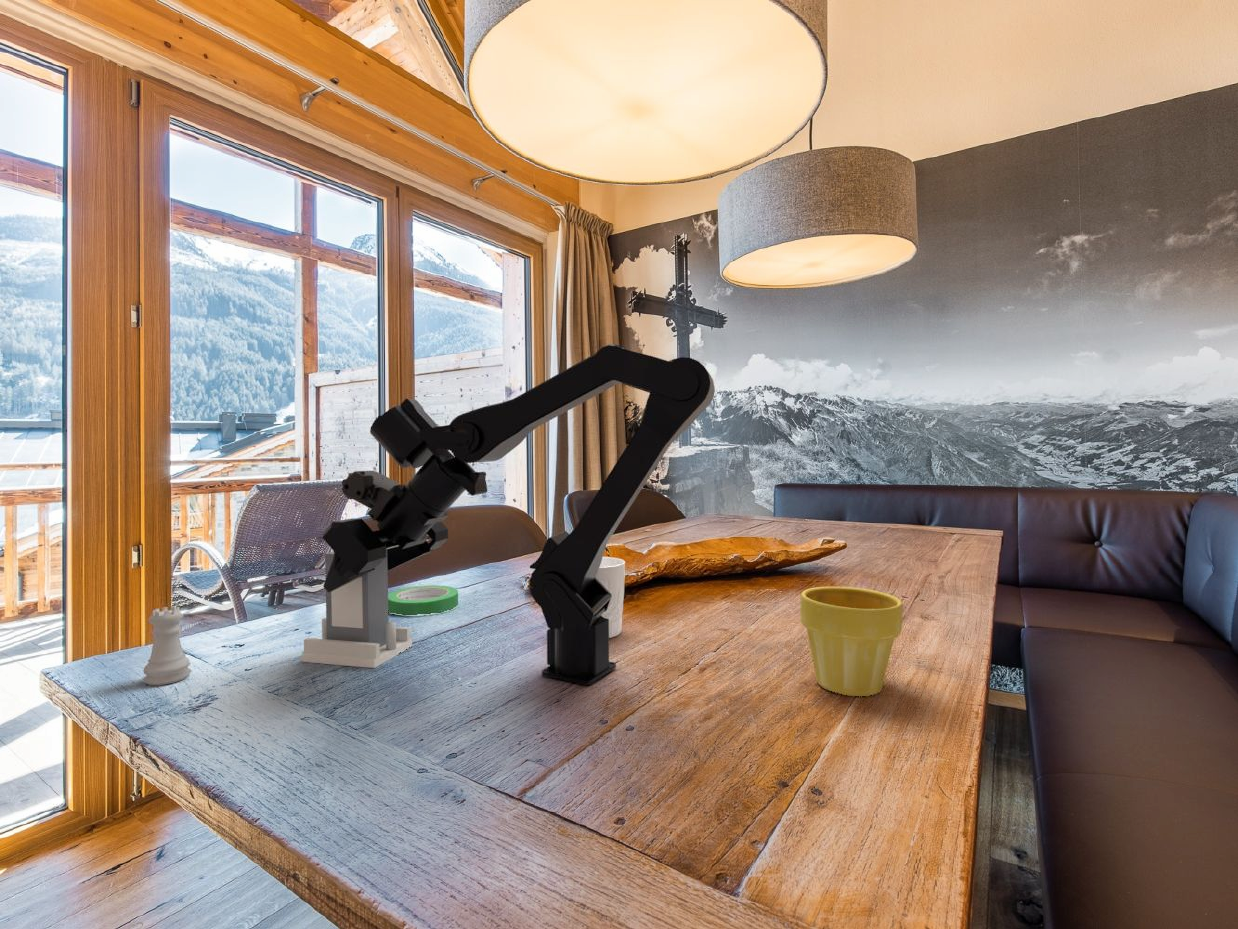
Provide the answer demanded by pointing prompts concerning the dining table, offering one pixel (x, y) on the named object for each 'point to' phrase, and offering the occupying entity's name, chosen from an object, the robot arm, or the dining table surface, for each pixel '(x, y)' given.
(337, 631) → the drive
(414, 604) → the tape roll
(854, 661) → the plant pot
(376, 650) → the tray
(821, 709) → the dining table surface
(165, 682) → the rook chess piece
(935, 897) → the dining table surface
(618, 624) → the white cup
